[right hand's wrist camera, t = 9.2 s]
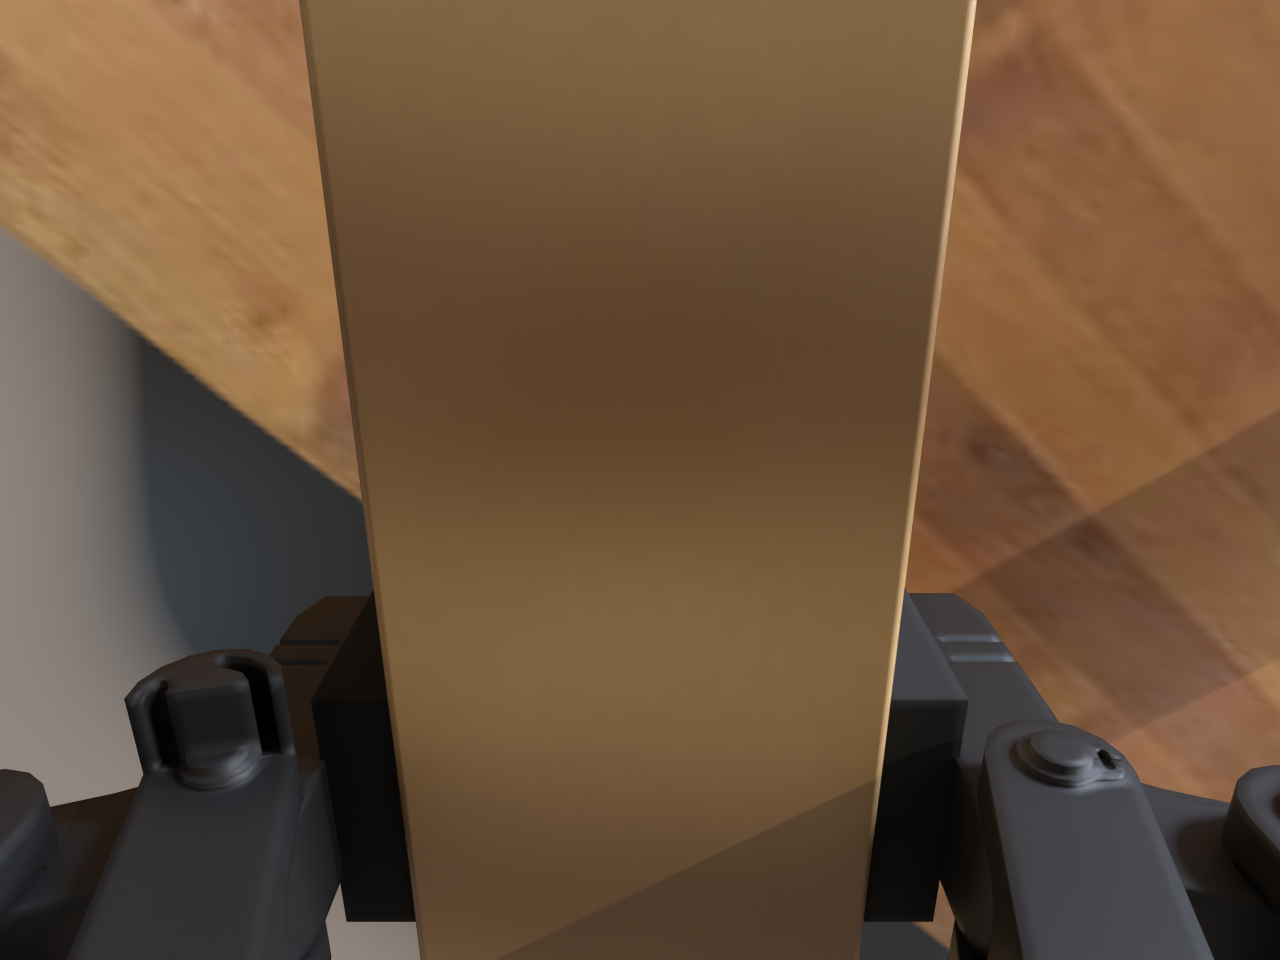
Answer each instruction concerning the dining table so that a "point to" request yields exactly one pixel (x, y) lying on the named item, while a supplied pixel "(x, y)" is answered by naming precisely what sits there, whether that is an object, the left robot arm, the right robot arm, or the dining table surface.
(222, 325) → the dining table surface
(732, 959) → the post
